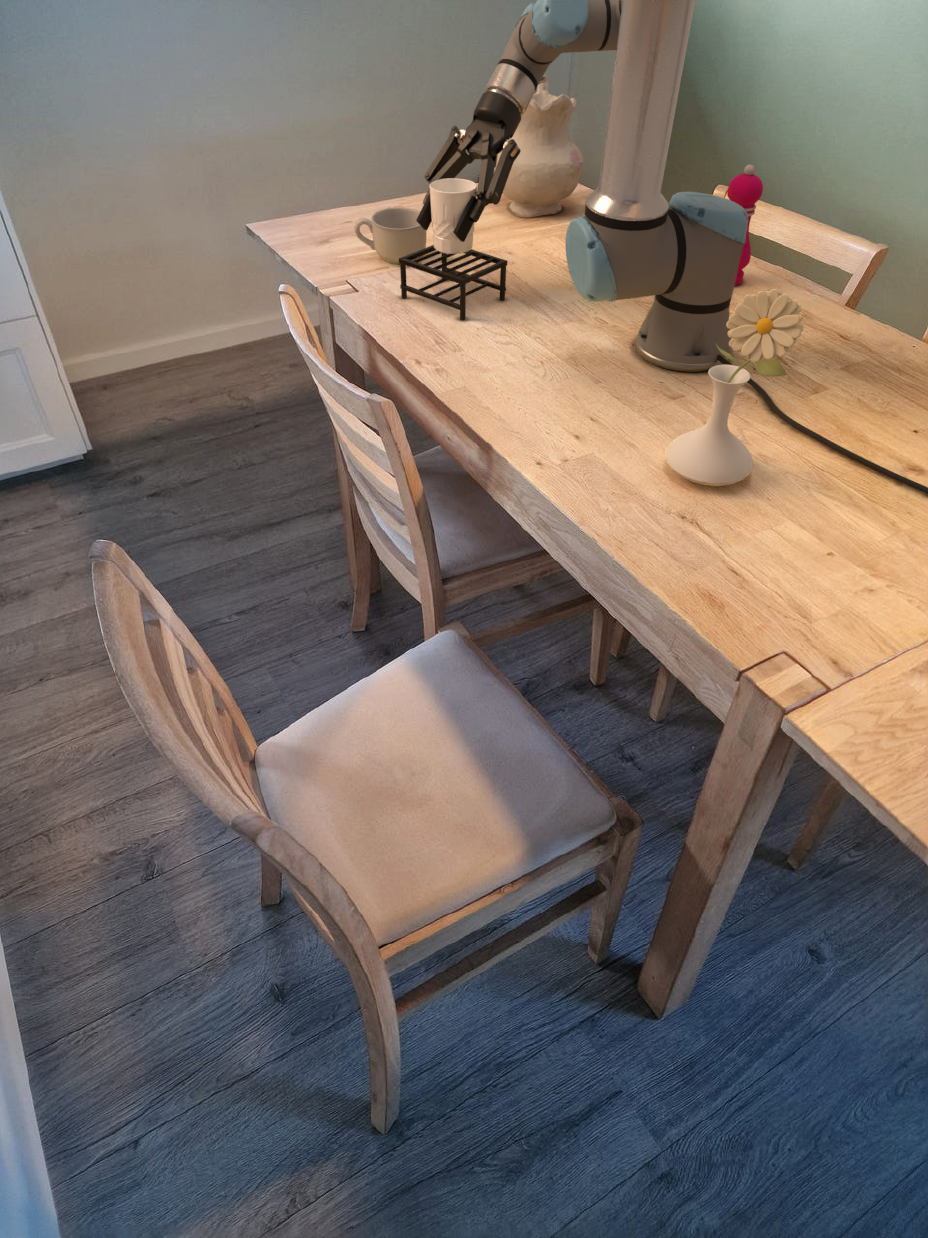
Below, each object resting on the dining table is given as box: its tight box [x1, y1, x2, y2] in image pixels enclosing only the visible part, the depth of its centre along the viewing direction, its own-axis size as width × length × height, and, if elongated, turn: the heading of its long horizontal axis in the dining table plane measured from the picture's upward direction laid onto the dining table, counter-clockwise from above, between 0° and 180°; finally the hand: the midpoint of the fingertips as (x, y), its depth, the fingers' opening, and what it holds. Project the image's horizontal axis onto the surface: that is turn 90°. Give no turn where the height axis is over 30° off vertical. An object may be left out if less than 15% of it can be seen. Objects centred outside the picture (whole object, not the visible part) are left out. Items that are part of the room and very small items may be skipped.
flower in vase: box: [664, 288, 805, 487], centre depth 102 cm, size 13×11×25 cm
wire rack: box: [399, 244, 508, 321], centre depth 149 cm, size 15×12×7 cm
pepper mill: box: [726, 164, 764, 287], centre depth 152 cm, size 7×7×20 cm
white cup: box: [429, 177, 478, 255], centre depth 142 cm, size 8×8×10 cm
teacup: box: [354, 206, 427, 265], centre depth 163 cm, size 14×11×8 cm
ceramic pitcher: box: [494, 73, 584, 218], centre depth 181 cm, size 22×20×25 cm
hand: (439, 230), depth 141 cm, fingers closed on white cup, 8 cm apart
